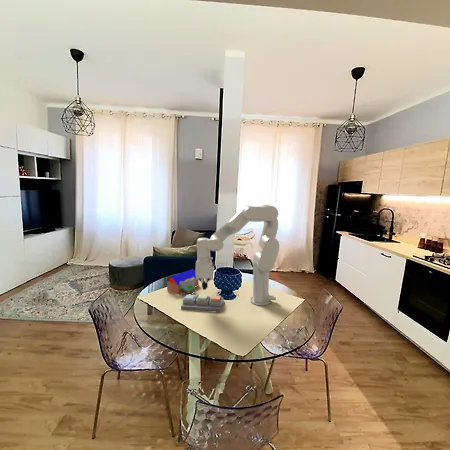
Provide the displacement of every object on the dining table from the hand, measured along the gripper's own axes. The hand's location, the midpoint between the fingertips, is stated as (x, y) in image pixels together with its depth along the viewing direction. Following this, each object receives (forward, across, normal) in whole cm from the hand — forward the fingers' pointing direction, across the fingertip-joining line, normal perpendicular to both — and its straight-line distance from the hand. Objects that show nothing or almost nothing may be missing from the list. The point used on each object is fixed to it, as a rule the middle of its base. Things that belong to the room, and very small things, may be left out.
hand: (204, 288), depth 151 cm
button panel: (+10, +1, 0) cm, 11 cm away
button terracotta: (+7, -7, 0) cm, 10 cm away
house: (+11, +22, -23) cm, 34 cm away
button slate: (+8, +9, 0) cm, 12 cm away
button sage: (+7, +1, 0) cm, 7 cm away
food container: (+10, +14, -15) cm, 23 cm away
